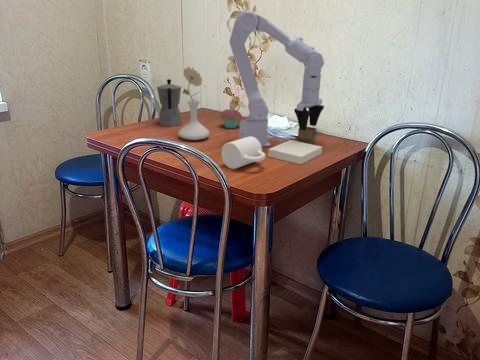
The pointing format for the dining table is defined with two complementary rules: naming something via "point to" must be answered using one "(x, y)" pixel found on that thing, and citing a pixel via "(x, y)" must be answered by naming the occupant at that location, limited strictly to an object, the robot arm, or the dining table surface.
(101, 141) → the dining table surface
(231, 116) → the cupcake
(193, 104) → the flower in vase
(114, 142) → the dining table surface
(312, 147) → the cream plinth
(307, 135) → the walnut block
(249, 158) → the mug
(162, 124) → the coffeepot
